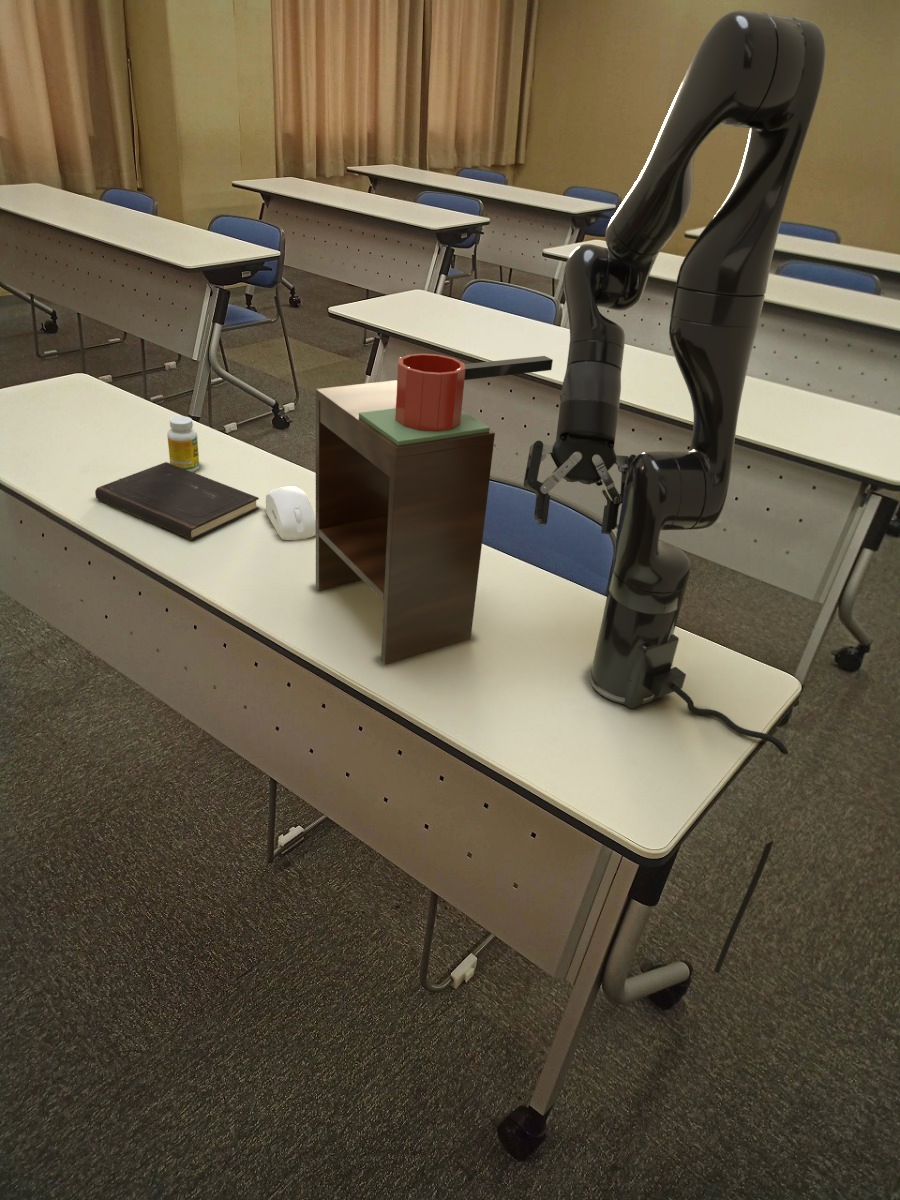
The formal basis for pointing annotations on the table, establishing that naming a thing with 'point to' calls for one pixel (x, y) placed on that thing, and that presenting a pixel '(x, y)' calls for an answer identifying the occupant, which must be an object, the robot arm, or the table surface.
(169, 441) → the supplement bottle
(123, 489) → the hardcover book
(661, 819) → the table surface
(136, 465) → the table surface
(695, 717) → the table surface
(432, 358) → the pot
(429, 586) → the shelf
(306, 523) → the computer mouse
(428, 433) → the green flat slab
